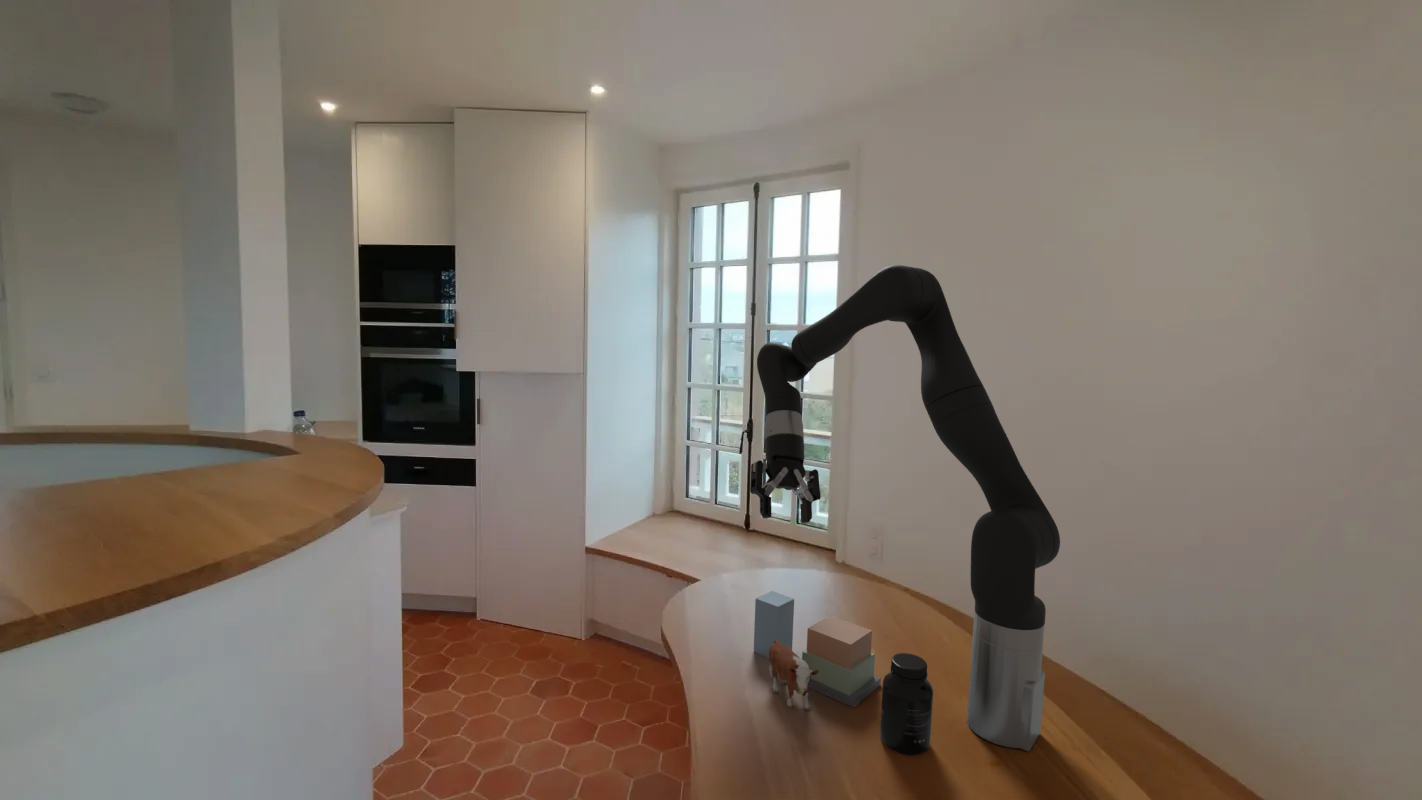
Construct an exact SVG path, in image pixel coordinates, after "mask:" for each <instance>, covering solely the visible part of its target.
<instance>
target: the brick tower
mask: <svg viewBox="0 0 1422 800" xmlns="http://www.w3.org/2000/svg"><path fill="white" fill-rule="evenodd" d="M872 636H873V629H872V630H871V629H869V628H866V627H863V626H860V625H858V624H855V623H853V622H849V621H846V620H843V619H841V618H839V617H835V616H832V615H828V616H827V617H824V618H823V619H821V620H819V621H818V622H816V623H814V624H812V625H810V626H809V627H807V636H806V649H804V650H803V651H802V653H801V659H803V660H804V661H805V662H806V663H807V664H808V666H809V668H810V670H819V673H818V674H816V675H811V682H810V684H809V685H808V688H811V689H812V690H815V691H817V692H819V693H822V694H823V695H825V696H828V697H830V698H832V699H834V700H836V701H839V702H841V703H843V704H845V705H847V706H849V707H852V708H854V707H856V706H857V705H858V704H859V703H860V702H862V701H863V700H864V699H865V698H866V697H868V696H869V695H870V694H871V693H873V692H874V691H875V690H877V688H879V687H880V686H881V684H882V683H881V682H882V681H881V677H879V676H876V675H875V663H876V662H875V661H876V653H874V652H872V638H873V637H872Z"/></svg>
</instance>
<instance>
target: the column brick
mask: <svg viewBox="0 0 1422 800" xmlns="http://www.w3.org/2000/svg"><path fill="white" fill-rule="evenodd" d="M754 603H755V605H754V608H755V609H754V629H753V631H754V635H753V653H756V654H759V655H760V656H763V657H765V658H767V659H769V648H770V646H771V645H772V644H773V643H774V641H776V640H778V641H779V642H781V643H783V644H785V645H786V646H787V647H789V648H790V649H791V650H792V651H793V638H794V636H793V635H794V634H793V633H794V615H795V613H794V612H795V598H793V597H791V596H787V595H784V594H783V593H782V594H781V593H779V592H776V591H774V590H771V591H769V592H767V593H765V594H762V595H760V596H758V597H755V602H754Z"/></svg>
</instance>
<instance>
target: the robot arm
mask: <svg viewBox="0 0 1422 800" xmlns="http://www.w3.org/2000/svg"><path fill="white" fill-rule="evenodd" d="M886 321H890V322H899V323H905V325H906V327H907V328H908V330H909V331H910V334H912V337H913V340H914V341H915V344H916V346H917V348H918V351H919V354H920V359H921V373H920V375H921V376H920V391H921V392H920V393H921V398H922V399H921V400H922V402H923V406H924V409H925V410H926V412H927V414H928V417H929V419H930V422H931V424H932V426H933V429H934V431H935V433H936V434H937V436H938V438H939V439H940V441H941V443H943V445H944V446H945V448H946V449H947V450H948V451H949V452H950V453H951V454H952V455H953V456H954V457H955V459H957V461H959V462H960V463H961V464H962V466H963V467H965V469H966V470H967V471H968V472H969V473H970V474H971V476H973V478H974V480H976V482H977V483H978V486H979V487H980V489H981V491H982V493H983V495H984V497H985V499H986V501H987V504H988V505H989V509H990V511H988V512H986V513H984V514H982V515H981V516H980V517H979V518H978V520H977V521H976V523H975V524H974V527H973V529H972V534H971V542H970V588H971V590H970V591H971V594H972V597H973V599H974V612H973V613H974V614H973V628H972V644H971V657H970V659H971V660H970V671H969V672H970V673H969V675H970V676H969V689H968V690H969V691H968V701H967V702H968V704H967V721H966V722H967V724H968V726H969V727H970V729H971V730H972V731H973V732H974V733H975V734H976V735H978V736H979V737H981V738H982V739H984V740H986V741H988V742H991V743H993V744H995V745H998V746H1002V747H1006V748H1011V749H1014V748H1015V749H1021V750H1023V751H1026V752H1030V750H1031V749H1032V747H1033V745H1034V744H1035V743H1036V740H1038V738H1039V736H1040V735H1041V730H1042V729H1041V727H1042V715H1043V706H1044V705H1043V704H1044V703H1043V702H1044V689H1045V677H1046V674H1045V673H1046V672H1045V671H1044V670H1043V669H1042V663H1043V662H1042V661H1043V650H1044V649H1043V647H1044V636H1045V635H1044V634H1045V625H1046V624H1045V623H1046V606H1045V603H1044V601H1043V600H1042V599H1041V598H1039V597H1038V596H1037V595H1035V594H1036V593H1035V591H1036V590H1035V588H1036V587H1035V583H1036V582H1035V581H1036V569H1038V568H1041V567H1043V566H1046V565H1048V564H1050V563H1051V562H1052V561H1054V560H1055V558H1057V556H1058V554H1059V552H1060V551H1059V550H1060V547H1061V537H1060V533H1059V529H1058V526H1057V524H1056V522H1055V519H1054V518H1053V516H1052V515H1051V513H1050V511H1049V510H1048V508H1047V506H1046V504H1045V503H1044V501H1043V500H1042V499H1041V496H1040V495H1039V493H1038V492H1037V490H1036V489H1035V488H1036V487H1034V485H1033V484H1032V482H1031V480H1030V478H1029V477H1028V475H1027V474H1026V472H1025V470H1024V469H1023V466H1022V465H1021V463H1020V459H1019V458H1018V457H1017V453H1015V450H1014V448H1013V446H1012V444H1011V441H1010V439H1009V437H1008V435H1007V433H1006V431H1005V429H1004V427H1003V425H1002V423H1001V422H1000V419H999V416H998V415H997V414H998V413H997V412H996V410H995V407H994V405H993V403H992V401H991V399H990V396H989V395H988V392H987V390H986V389H985V387H984V384H983V382H982V381H981V378H980V377H979V376H978V373H977V371H976V369H975V367H974V365H973V363H972V359H970V356H969V354H968V352H967V350H966V348H965V346H964V344H963V341H962V340H961V337H960V335H959V333H958V331H957V329H956V325H955V323H954V320H953V316H952V315H951V311H950V308H949V305H948V302H947V300H946V296H945V294H944V290H943V288H942V286H941V284H940V281H939V280H938V279H937V278H936V276H935V275H934V274H933V273H932V272H930V271H928V270H926V269H923V268H922V267H921V268H919V267H913V266H907V265H899V264H897V265H896V264H894V265H890V266H886V267H884V268H882V269H881V270H879V271H878V272H877V273H875V274H874V275H872V276H871V277H870V278H869V279H868V280H867V281H866V282H865V283H864V284H863V285H862V286H860V288H858V290H856V291H855V292H854V293H853V294H852V295H850V296H849V297H848V298H847V299H846V300H845V301H843V302H842V303H841V304H840V305H839V306H838V307H836V308H835V309H834V310H832V311H831V312H830V313H828V314H827V315H826V316H823V317H822V318H821V319H819V320H817V321H816V322H814V323H812V324H811V325H809V326H807V327H806V328H803V330H801V331H799V332H798V333H797V334H795V336H794V337H793V339H792V340H791V346H788V345H786V344H783V343H780V342H776V341H768V342H767V343H765V344H764V345H763V346H761V347H760V349H759V350H758V351H759V352H758V354H757V358H756V359H757V360H756V366H757V367H756V368H757V373H758V377H759V380H760V384H761V386H762V389H763V394H764V396H765V414H766V415H765V416H766V417H765V426H764V430H765V431H764V438H765V439H764V441H765V442H764V443H765V460H766V463H764V462H763V460H760V459H759V460H757V461H755V462H753V463H751V465H750V467H751V468H750V483H749V485H750V486H749V487H750V488H749V492H750V493H751V494H752V495H756V496H757V497H758V498H759V513H760V515H761V518H763V519H766V520H767V519H770V518H771V517H772V497H771V494H772V493H773V491H774V490H775V489H778V490H780V489H781V490H782V489H783V490H786V491H792V493H793V494H794V495H796V496H797V498H798V500H799V501H800V504H799V505H800V522H801V524H808V523H810V522H811V520H812V518H813V506H812V505H813V503H814V502H815V501H819V500H821V498H822V496H821V487H820V486H821V485H820V475H819V474H820V473H819V471H818V470H817V469H812V470H808V469H806V468H805V466H804V462H805V437H804V424H803V418H802V417H803V416H802V398H801V397H802V396H801V393H800V390H799V389H798V388H796V387H795V386H793V385H792V384H790V383H793V382H798V381H801V380H803V379H804V378H805V377H806V376H807V375H808V374H809V373H810V372H811V370H812V369H813V368H815V366H816V365H817V364H818V363H820V362H821V361H822V362H823V361H824V360H825V359H827V358H829V357H831V356H833V355H835V354H837V353H838V352H840V351H841V350H843V349H844V348H845V347H846V346H847V345H848V344H849V343H850V341H851V340H852V338H853V337H854V335H856V334H857V333H859V332H860V331H861V330H863V329H865V328H867V327H870V326H873V325H875V324H878V323H882V322H886ZM764 473H766V475H767V477H768V478H767V480H766V482H764V484H763V476H764V475H763V474H764ZM804 478H805V479H804ZM805 481H806V482H805Z"/></svg>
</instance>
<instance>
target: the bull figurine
mask: <svg viewBox="0 0 1422 800" xmlns="http://www.w3.org/2000/svg"><path fill="white" fill-rule="evenodd" d="M768 659H769V660H768V661H769V672H770V677H771V679H773V683H772V688H773V690H772V691H773V692H774V693H775V694H778V693H780V688H779V685H778V677H779V679H781V681H782V682H781V683H782V684H783V685H787V693H788V699H787V700H786V702H787V703H786V705H787V706H786V707H787V708H789V709H792V708H793V707H794V702H793V697H794V694H795V692H796V693H797V694H798V695H799V696H801V695H802V697H803V703H802V704H803V709H804V710H805V711H810V710H811V706H810V703H809V699H808V698H809V691H808V690H809V687H808V685H809V684H810V682H811V675H816V674H818V673H819V670H810V668H809V666H808V664H807V663H806V662H805V661H804V660H803V659H802V657H800V656H799V655H797V654H796V653H795V652H794V651H793V649H792V650H791V649H790V648H789V647H787V646H786V645H785V644H783V643H781V642H779V641H778V640H776V641H774V643H773V644H772V645H771V646H770V648H769V658H768ZM794 691H795V692H794Z"/></svg>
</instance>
